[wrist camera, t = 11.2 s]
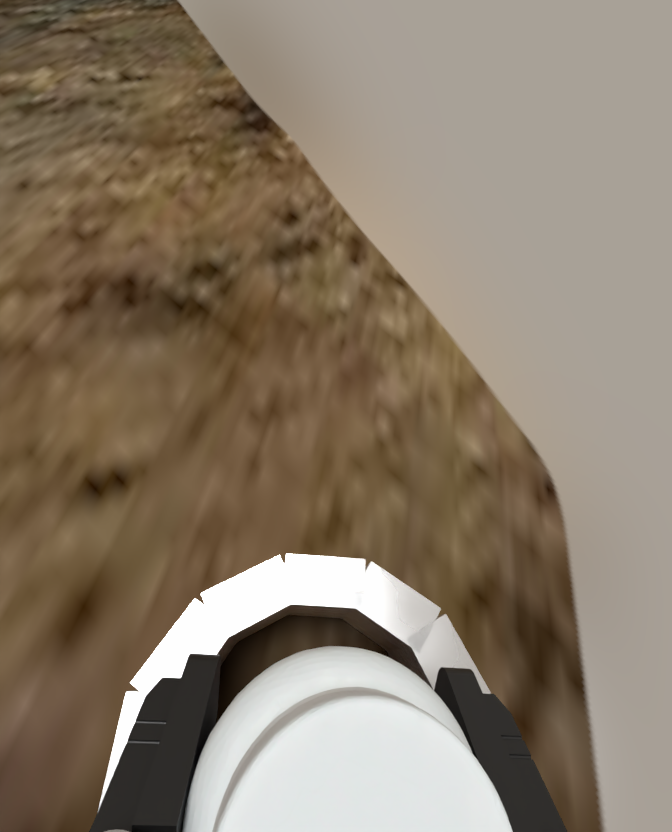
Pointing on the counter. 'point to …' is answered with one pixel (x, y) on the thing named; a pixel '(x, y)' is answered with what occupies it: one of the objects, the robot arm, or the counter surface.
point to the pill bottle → (340, 754)
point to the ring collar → (303, 596)
